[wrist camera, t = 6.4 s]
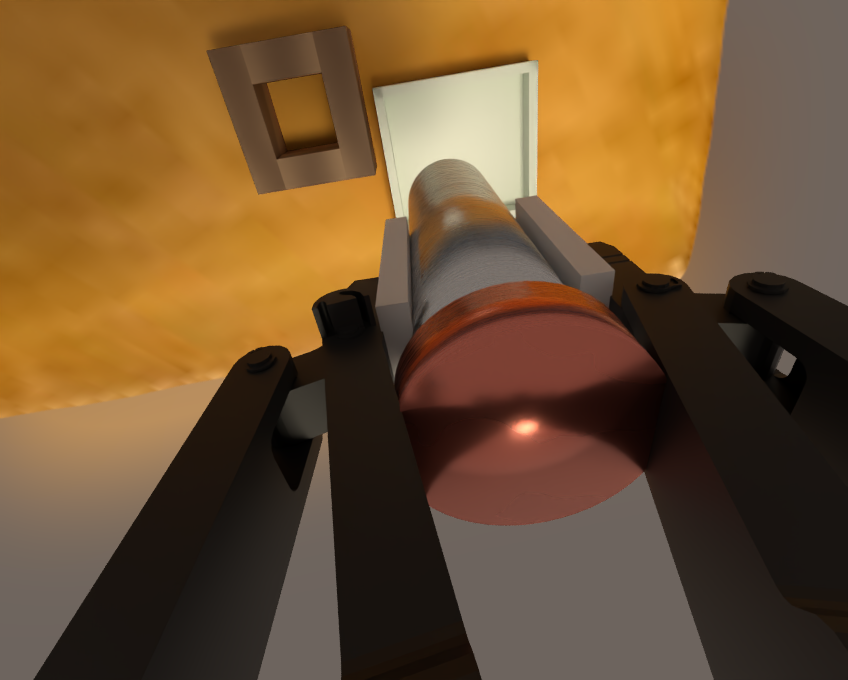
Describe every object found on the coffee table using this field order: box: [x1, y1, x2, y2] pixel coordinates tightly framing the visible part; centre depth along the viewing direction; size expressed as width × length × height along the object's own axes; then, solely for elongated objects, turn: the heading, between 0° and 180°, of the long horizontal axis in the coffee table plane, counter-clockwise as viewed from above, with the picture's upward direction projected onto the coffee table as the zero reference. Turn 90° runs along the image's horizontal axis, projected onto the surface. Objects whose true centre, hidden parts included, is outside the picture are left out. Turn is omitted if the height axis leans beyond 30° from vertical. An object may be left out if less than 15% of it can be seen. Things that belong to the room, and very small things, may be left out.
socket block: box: [207, 26, 377, 195], centre depth 33 cm, size 10×10×4 cm
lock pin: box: [394, 159, 667, 525], centre depth 14 cm, size 5×5×16 cm
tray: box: [373, 60, 538, 228], centre depth 36 cm, size 13×12×3 cm
